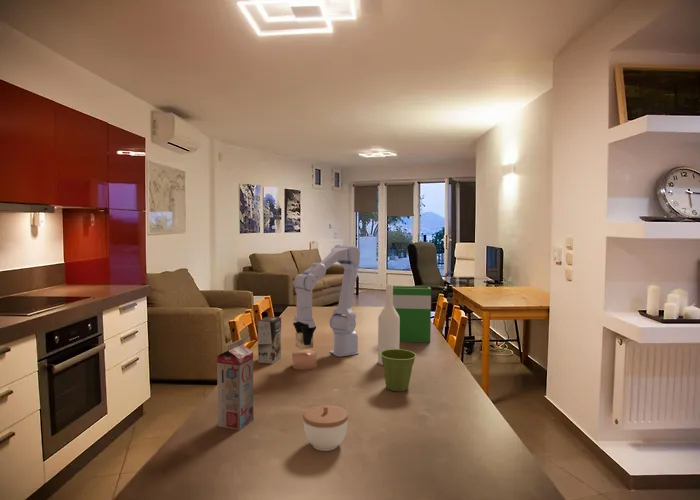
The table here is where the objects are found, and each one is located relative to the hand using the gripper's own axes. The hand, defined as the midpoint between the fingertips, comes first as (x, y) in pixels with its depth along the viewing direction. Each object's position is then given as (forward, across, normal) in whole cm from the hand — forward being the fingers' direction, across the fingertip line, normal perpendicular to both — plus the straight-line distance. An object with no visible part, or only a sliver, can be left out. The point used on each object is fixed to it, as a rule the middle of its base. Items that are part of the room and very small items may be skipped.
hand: (304, 342), depth 172 cm
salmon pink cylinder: (+9, 0, 0) cm, 9 cm away
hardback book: (+9, -14, +58) cm, 60 cm away
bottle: (+9, +11, +30) cm, 33 cm away
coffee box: (+9, -13, -9) cm, 18 cm away
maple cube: (+2, 0, 0) cm, 2 cm away
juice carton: (+9, +37, -35) cm, 52 cm away
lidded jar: (+9, +59, -19) cm, 63 cm away
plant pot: (+9, +35, +18) cm, 40 cm away
